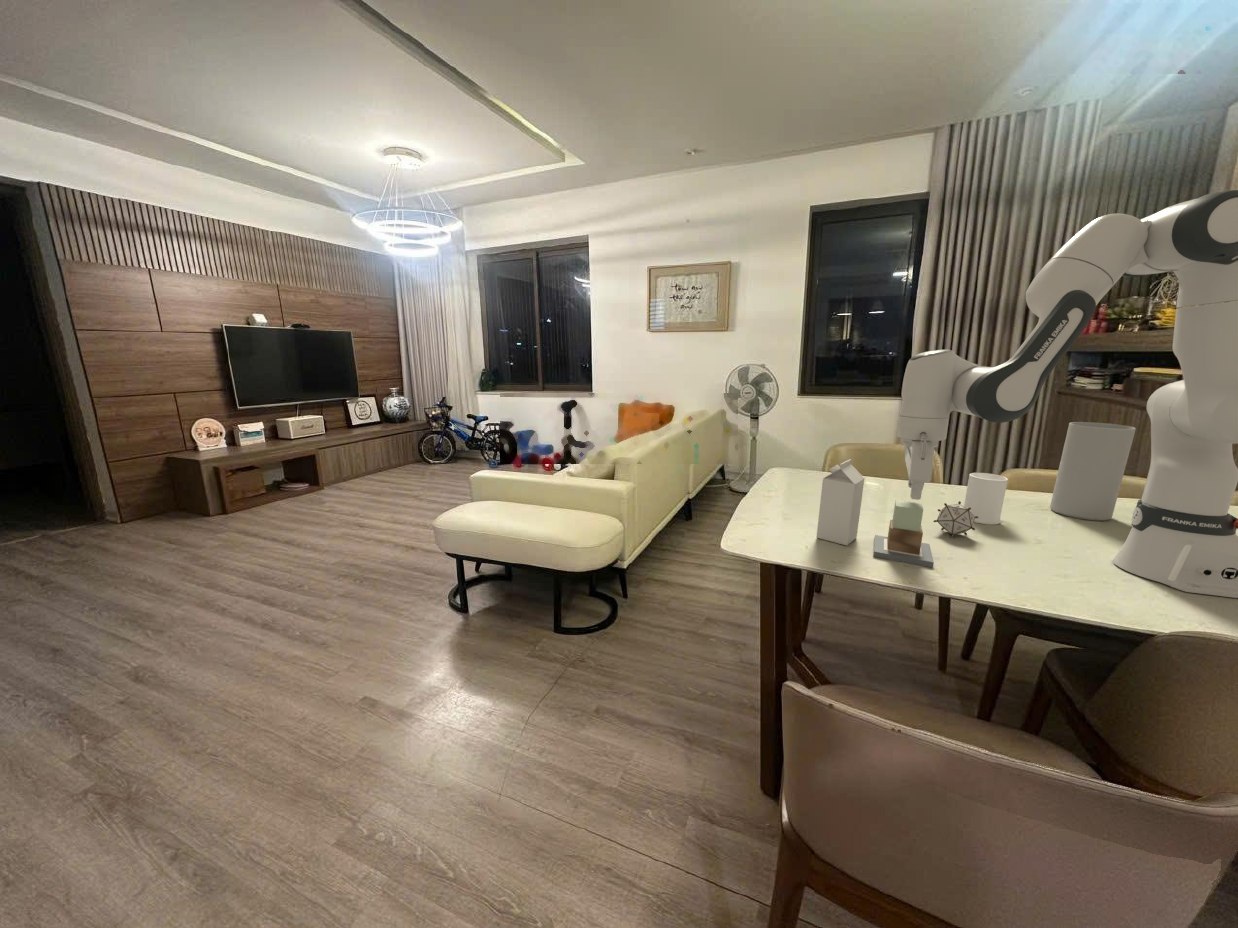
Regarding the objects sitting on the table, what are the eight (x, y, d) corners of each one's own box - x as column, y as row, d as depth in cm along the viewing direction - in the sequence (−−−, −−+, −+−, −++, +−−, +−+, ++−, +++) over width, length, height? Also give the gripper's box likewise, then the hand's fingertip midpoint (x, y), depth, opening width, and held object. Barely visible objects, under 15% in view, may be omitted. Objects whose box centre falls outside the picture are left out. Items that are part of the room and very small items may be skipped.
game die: (959, 550, 115) (992, 529, 107) (926, 536, 116) (955, 514, 108) (955, 523, 121) (985, 501, 113) (923, 510, 121) (951, 487, 114)
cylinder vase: (1038, 505, 137) (1057, 421, 131) (1086, 507, 136) (1107, 422, 130) (1072, 520, 125) (1094, 428, 119) (1125, 523, 124) (1150, 429, 118)
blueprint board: (928, 548, 107) (929, 543, 106) (932, 567, 97) (933, 561, 97) (874, 539, 112) (874, 534, 111) (873, 556, 102) (874, 551, 102)
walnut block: (917, 545, 105) (921, 524, 104) (919, 555, 100) (922, 533, 99) (887, 540, 108) (890, 519, 107) (887, 549, 103) (890, 528, 102)
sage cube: (918, 524, 104) (921, 503, 103) (919, 531, 100) (923, 509, 99) (892, 520, 106) (895, 499, 105) (892, 527, 102) (896, 506, 101)
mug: (985, 511, 132) (994, 470, 129) (1017, 522, 124) (1027, 478, 121) (952, 515, 129) (960, 473, 126) (983, 526, 121) (992, 481, 118)
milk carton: (856, 538, 113) (867, 461, 108) (847, 546, 108) (857, 466, 103) (826, 530, 117) (835, 457, 113) (816, 538, 112) (824, 461, 108)
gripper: (945, 438, 87) (936, 508, 91) (935, 423, 105) (927, 483, 108) (906, 436, 90) (898, 504, 94) (902, 422, 108) (895, 480, 111)
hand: (913, 492), depth 101 cm, fingers open, 8 cm apart
